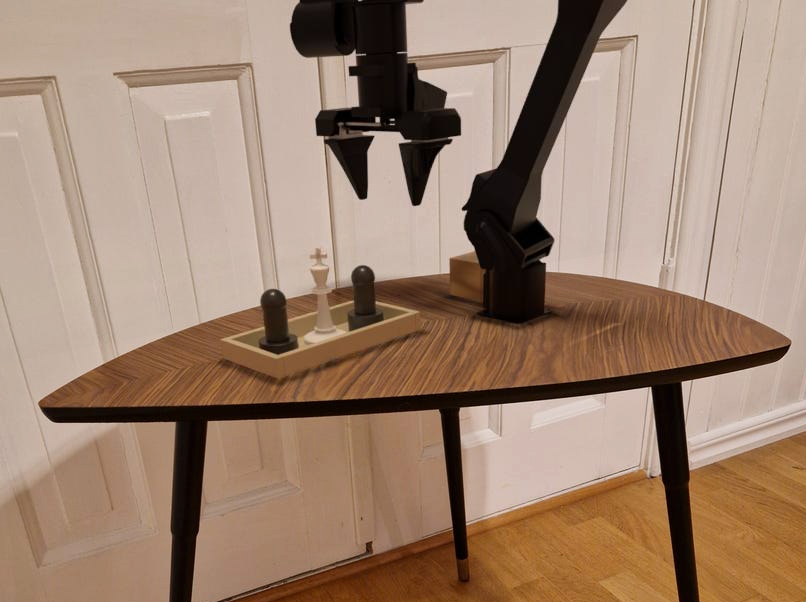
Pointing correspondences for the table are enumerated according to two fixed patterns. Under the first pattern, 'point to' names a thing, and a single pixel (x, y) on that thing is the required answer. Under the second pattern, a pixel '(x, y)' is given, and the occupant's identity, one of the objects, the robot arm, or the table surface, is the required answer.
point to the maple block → (466, 276)
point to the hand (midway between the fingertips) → (389, 202)
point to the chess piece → (321, 302)
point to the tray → (305, 357)
